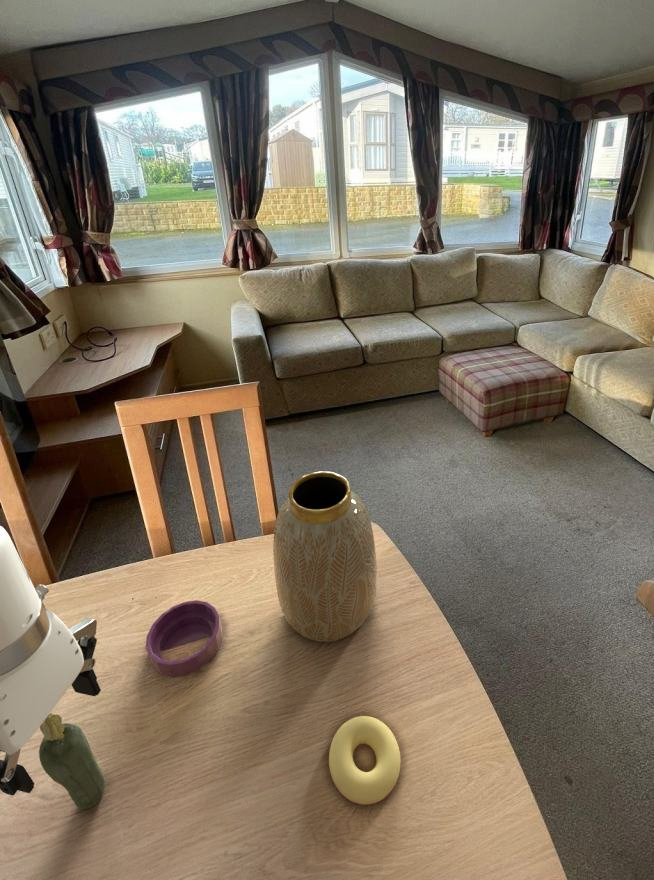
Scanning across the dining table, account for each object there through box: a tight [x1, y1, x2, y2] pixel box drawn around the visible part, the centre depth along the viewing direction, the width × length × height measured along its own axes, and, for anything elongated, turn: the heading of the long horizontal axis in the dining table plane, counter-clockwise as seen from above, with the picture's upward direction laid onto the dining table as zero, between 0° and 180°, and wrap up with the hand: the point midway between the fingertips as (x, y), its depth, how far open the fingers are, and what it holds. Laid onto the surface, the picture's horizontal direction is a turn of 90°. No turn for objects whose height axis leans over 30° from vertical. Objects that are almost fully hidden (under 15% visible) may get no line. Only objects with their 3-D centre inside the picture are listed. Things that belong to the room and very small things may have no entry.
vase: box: [272, 471, 378, 643], centre depth 81 cm, size 17×17×27 cm
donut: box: [328, 715, 401, 806], centre depth 65 cm, size 10×5×9 cm
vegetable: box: [38, 712, 106, 811], centre depth 57 cm, size 4×4×20 cm
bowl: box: [145, 599, 224, 678], centre depth 80 cm, size 11×11×4 cm
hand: (57, 735), depth 55 cm, fingers open, 9 cm apart
